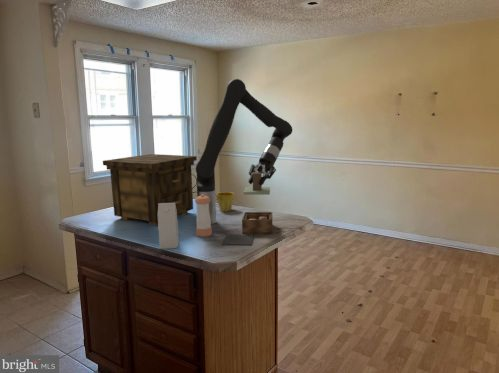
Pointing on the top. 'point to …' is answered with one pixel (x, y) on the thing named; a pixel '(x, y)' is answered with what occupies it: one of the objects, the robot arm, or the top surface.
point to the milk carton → (167, 225)
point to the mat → (238, 240)
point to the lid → (257, 186)
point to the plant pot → (225, 200)
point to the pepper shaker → (203, 216)
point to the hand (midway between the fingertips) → (254, 183)
